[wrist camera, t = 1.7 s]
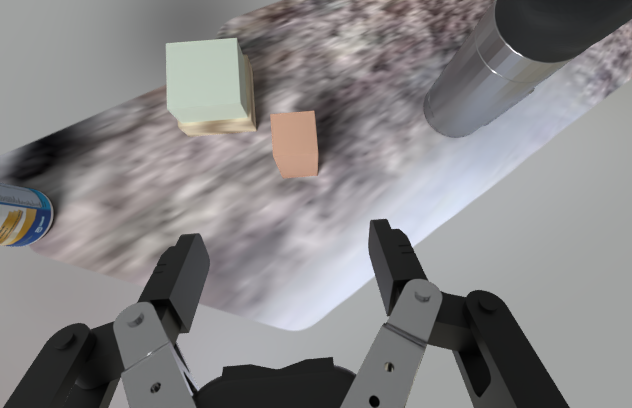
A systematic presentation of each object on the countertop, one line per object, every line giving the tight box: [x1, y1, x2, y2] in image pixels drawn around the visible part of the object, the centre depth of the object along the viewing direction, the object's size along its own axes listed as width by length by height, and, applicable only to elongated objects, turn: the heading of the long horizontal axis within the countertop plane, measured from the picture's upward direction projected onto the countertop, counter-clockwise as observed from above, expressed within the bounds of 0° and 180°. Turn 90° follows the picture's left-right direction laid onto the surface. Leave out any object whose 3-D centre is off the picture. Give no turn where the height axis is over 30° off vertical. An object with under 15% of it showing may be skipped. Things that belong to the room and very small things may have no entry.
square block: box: [270, 111, 318, 178], centre depth 37 cm, size 5×5×10 cm
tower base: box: [178, 55, 256, 137], centre depth 42 cm, size 10×10×4 cm
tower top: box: [166, 38, 248, 123], centre depth 38 cm, size 9×9×4 cm
